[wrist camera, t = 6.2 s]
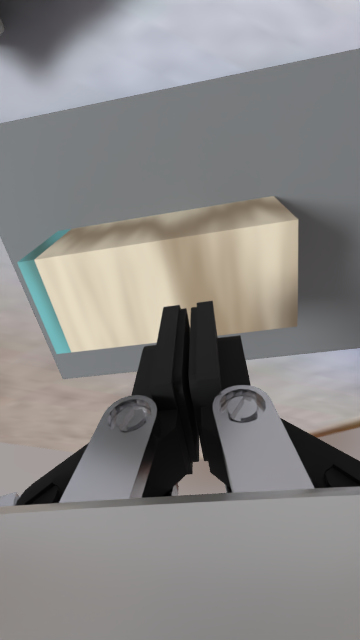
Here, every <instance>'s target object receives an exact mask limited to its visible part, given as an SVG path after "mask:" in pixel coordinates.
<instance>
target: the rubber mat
mask: <svg viewBox="0 0 360 640" xmlns="http://www.w3.org/2000/svg"><path fill="white" fill-rule="evenodd" d="M270 196H274V197H275V198H276V199H277V200H278V201H279V202H280V203H281V204H283V205H284V206H285V207H286V208H287V209H288V210H289V211H290V212H291V213H292V214H293V215H294V216H295V217H296V218H297V219H298V321H297V327H288V328H280V329H271V330H262V331H253V332H245V333H236V334H227V335H219V336H218V338H221V337H230V336H238V335H240V336H241V341H242V346H243V351H244V356H245V360H250V359H259V358H269V357H278V356H288V355H297V354H307V353H316V352H326V351H335V350H345V349H354V348H360V49H355V50H350V51H345V52H341V53H336V54H331V55H326V56H321V57H317V58H312V59H307V60H302V61H297V62H293V63H288V64H283V65H278V66H274V67H269V68H264V69H259V70H254V71H250V72H245V73H240V74H235V75H230V76H226V77H221V78H216V79H211V80H207V81H202V82H197V83H192V84H187V85H183V86H178V87H173V88H168V89H163V90H159V91H154V92H149V93H144V94H140V95H135V96H130V97H125V98H120V99H116V100H111V101H106V102H101V103H96V104H92V105H87V106H82V107H77V108H73V109H68V110H63V111H58V112H53V113H49V114H44V115H39V116H34V117H29V118H25V119H20V120H15V121H10V122H6V123H1V124H0V237H1V239H2V242H3V244H4V246H5V248H6V251H7V253H8V255H9V257H10V260H11V262H12V264H13V267H14V269H15V271H16V273H17V276H18V278H19V280H20V282H21V285H22V287H23V289H24V292H25V294H26V296H27V298H28V301H29V303H30V305H31V307H32V310H33V312H34V314H35V317H36V319H37V321H38V323H39V326H40V328H41V330H42V333H43V335H44V337H45V339H46V342H47V344H48V346H49V348H50V351H51V353H52V355H53V358H54V360H55V362H56V364H57V367H58V369H59V371H60V373H61V376H62V378H63V379H69V378H78V377H88V376H97V375H107V374H116V373H126V372H136V371H138V367H139V363H140V359H141V355H142V351H143V348H144V347H145V346H151V345H156V344H157V343H149V344H140V345H132V346H123V347H114V348H106V349H97V350H88V351H80V352H71V353H62V354H56V351H55V349H54V347H53V344H52V342H51V340H50V338H49V335H48V333H47V331H46V328H45V326H44V324H43V321H42V319H41V317H40V314H39V312H38V310H37V307H36V305H35V303H34V300H33V298H32V296H31V293H30V291H29V289H28V287H27V284H26V282H25V280H24V277H23V275H22V273H21V270H20V268H19V266H18V263H17V262H18V261H20V260H21V259H22V258H24V257H25V256H26V255H27V254H29V253H30V252H31V251H33V250H34V249H35V248H37V247H38V246H39V245H41V244H42V243H43V242H44V241H46V240H47V239H48V238H50V237H51V236H52V235H54V234H55V233H56V232H57V231H61V230H68V229H74V228H80V227H86V226H92V225H98V224H104V223H111V222H117V221H123V220H129V219H135V218H141V217H147V216H154V215H160V214H166V213H172V212H178V211H184V210H191V209H197V208H203V207H209V206H215V205H221V204H227V203H234V202H240V201H246V200H252V199H258V198H264V197H270Z"/></svg>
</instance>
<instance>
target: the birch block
mask: <svg viewBox="0 0 360 640" xmlns="http://www.w3.org/2000/svg"><path fill="white" fill-rule="evenodd" d="M17 263H18V266H19V268H20V270H21V273H22V275H23V277H24V280H25V282H26V284H27V287H28V289H29V291H30V293H31V296H32V298H33V300H34V303H35V305H36V307H37V310H38V312H39V314H40V317H41V319H42V321H43V324H44V326H45V328H46V331H47V333H48V335H49V338H50V340H51V342H52V344H53V347H54V349H55V351H56V354H62V353H71V352H80V351H88V350H97V349H106V348H114V347H123V346H132V345H140V344H149V343H157V339H158V333H159V328H160V323H161V317H162V312H163V307H167V306H175V305H180V307H181V309H184V308H186V309H187V313H188V319H189V325H190V319H191V308H192V307H197V303H198V302H206V301H213V306H214V314H215V321H216V329H217V336H219V335H227V334H236V333H245V332H253V331H262V330H271V329H280V328H288V327H297V321H298V219H297V218H296V217H295V216H294V215H293V214H292V213H291V212H290V211H289V210H288V209H287V208H286V207H285V206H284V205H283V204H281V203H280V202H279V201H278V200H277V199H276V198H275V197H274V196H270V197H264V198H258V199H252V200H246V201H240V202H234V203H227V204H221V205H215V206H209V207H203V208H197V209H191V210H184V211H178V212H172V213H166V214H160V215H154V216H147V217H141V218H135V219H129V220H123V221H117V222H111V223H104V224H98V225H92V226H86V227H80V228H74V229H68V230H61V231H57V232H56V233H55V234H54V235H52V236H51V237H50V238H48V239H47V240H46V241H44V242H43V243H42V244H41V245H39V246H38V247H37V248H35V249H34V250H33V251H31V252H30V253H29V254H27V255H26V256H25V257H24V258H22V259H21V260H20V261H18V262H17Z"/></svg>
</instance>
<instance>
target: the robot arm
mask: <svg viewBox="0 0 360 640" xmlns="http://www.w3.org/2000/svg"><path fill="white" fill-rule="evenodd" d="M199 438H200V443H201V448H202V453H203V458H204V461H208V462H209V467H210V472H211V473H212V474H213V475H215V476H216V477H217V478H218V479H220V480H221V481H222V482H223V483H224V484H225V488H226V493H219V494H202V495H184V496H178V487H179V486H178V482H179V481H180V480H181V479H182V478H183V477H184V476H185V475H186V474H192V464H193V462H198V461H199ZM0 640H360V461H358V460H356V459H355V458H353V457H351V456H349V455H347V454H345V453H344V452H342V451H340V450H338V449H336V448H334V447H332V446H330V445H329V444H327V443H325V442H323V441H321V440H320V439H318V438H316V437H314V436H312V435H311V434H309V433H307V432H305V431H303V430H301V429H300V428H298V427H296V426H294V425H292V424H290V423H289V422H287V421H285V420H283V419H281V418H280V417H279V415H278V413H277V411H276V409H275V407H274V405H273V403H272V401H271V399H270V397H269V396H268V395H267V393H265V392H264V391H262V390H261V389H259V388H256V387H254V386H251V385H250V380H249V375H248V370H247V365H246V360H245V356H244V351H243V346H242V341H241V336H240V335H238V336H230V337H221V338H218V336H217V329H216V321H215V314H214V306H213V301H206V302H198V303H197V307H192V308H191V319H190V325H189V319H188V313H187V309H186V308H184V309H181V307H180V305H175V306H167V307H163V312H162V317H161V323H160V328H159V333H158V339H157V344H156V345H151V346H145V347H144V348H143V351H142V355H141V359H140V363H139V367H138V371H137V375H136V379H135V384H134V388H133V392H132V396H128V397H124V398H121V399H120V400H118V401H116V402H114V403H113V404H112V405H111V406H110V407H109V408H108V409H107V410H106V412H105V413H104V414H103V416H102V418H101V420H100V422H99V424H98V426H97V428H96V430H95V432H94V434H93V436H92V438H91V440H90V442H89V443H88V444H87V445H85V446H84V447H83V448H81V449H80V450H78V451H77V452H76V453H74V454H73V455H72V456H70V457H69V458H67V459H66V460H65V461H64V462H62V463H61V464H59V465H58V466H56V467H55V468H54V469H52V470H51V471H50V472H48V473H47V474H46V475H44V476H43V477H41V478H40V479H39V480H37V481H36V482H35V483H33V484H32V485H31V486H30V487H29V488H27V489H26V490H25V491H24V493H23V494H22V495H21V496H19V495H18V494H17V493H16V492H15V493H11V494H8V495H4V496H1V497H0Z"/></svg>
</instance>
